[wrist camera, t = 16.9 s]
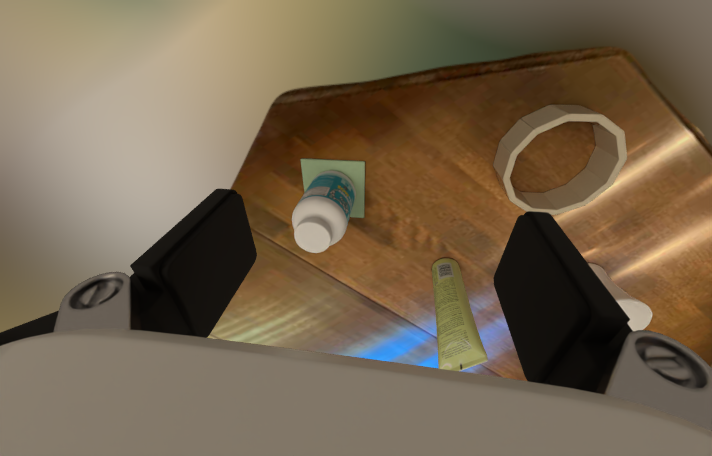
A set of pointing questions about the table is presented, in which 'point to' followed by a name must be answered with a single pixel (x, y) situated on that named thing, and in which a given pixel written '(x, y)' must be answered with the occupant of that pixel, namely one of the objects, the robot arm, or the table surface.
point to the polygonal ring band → (583, 185)
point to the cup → (625, 301)
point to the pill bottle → (323, 211)
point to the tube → (454, 319)
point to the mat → (348, 168)
